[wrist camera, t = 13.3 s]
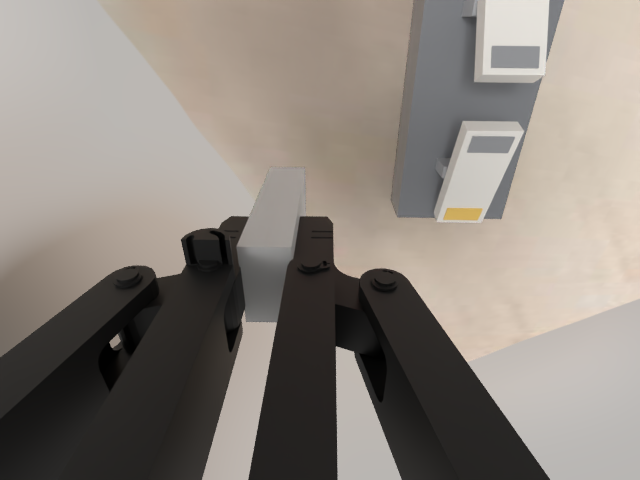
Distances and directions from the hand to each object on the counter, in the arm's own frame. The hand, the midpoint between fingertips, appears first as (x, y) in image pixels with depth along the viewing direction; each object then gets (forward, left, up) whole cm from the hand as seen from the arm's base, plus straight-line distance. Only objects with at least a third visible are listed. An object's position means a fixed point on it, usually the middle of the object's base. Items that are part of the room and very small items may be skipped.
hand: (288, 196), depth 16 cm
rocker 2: (+6, +16, -19) cm, 26 cm away
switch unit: (-1, +16, -28) cm, 32 cm away
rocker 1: (-8, +16, -19) cm, 26 cm away
